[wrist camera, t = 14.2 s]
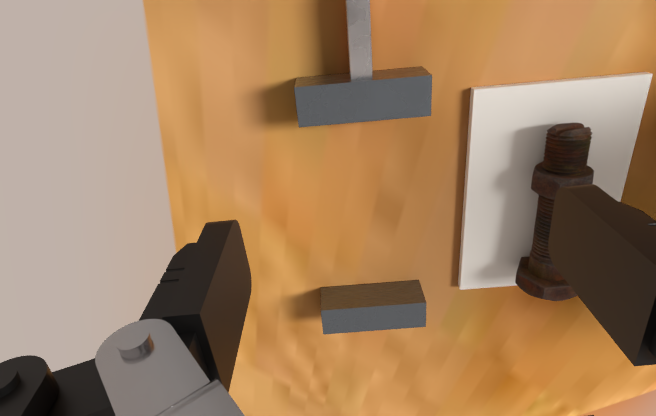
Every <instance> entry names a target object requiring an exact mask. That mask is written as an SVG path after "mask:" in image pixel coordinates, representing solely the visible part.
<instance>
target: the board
mask: <svg viewBox="0 0 656 416" xmlns="http://www.w3.org/2000/svg"><path fill="white" fill-rule="evenodd" d="M652 75H653V74H652V73H648V72H639V73H628V74H617V75H606V76H594V77H583V78H572V79H560V80H549V81H538V82H527V83H515V84H504V85H493V86H481V87H471V95H470V110H469V125H468V140H467V155H466V170H465V185H464V200H463V215H462V230H461V246H460V261H459V276H458V286H459V288H460V290H463V289H476V288H489V287H502V286H515V285H517V284H516V283H515V280H516V272H517V269H518V266H519V262H520V259H521V257H528V256H530V251H531V249H532V244H533V235H534V228H535V227H534V226H535V221H536V220H535V219H536V213H537V205H538V197H539V196H538V194H537V193H536V192H534V191H533V190H532V189H531V183H532V175H533V171H534V168H535V166H536V165H537V164H538V163H541V162H543V160H544V159H543V157H544V156H545V155H544V153H545V151H544V149H545V145H546V143H545V142H546V140H547V139H546V137H547V135H546V134H547V133H548V132H547V130H548V129H550V128H551V127H552V126H554V125H556V124H562V123H582V124H583V125H584V127H590V129H591V132H592V135H591V137H592V139H591V140H590V141H591V143H590V148H589V152H588V153H589V155H588V160H587V165H588V166H589V167H591V168H592V169H593V170H594V177H593V184H594V185H596V186H598V187H599V188H601V189H602V190H603V191H605V192H606V193H607V194H608V195H610V196H611V197H612V198H614V199H615V200H616V201H618V202H620V201H621V197H622V193H623V189H624V185H625V181H626V177H627V174H628V170H629V166H630V162H631V158H632V154H633V150H634V146H635V142H636V138H637V134H638V130H639V126H640V122H641V118H642V114H643V110H644V106H645V102H646V99H647V95H648V91H649V87H650V83H651V79H652Z"/></svg>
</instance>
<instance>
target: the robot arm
mask: <svg viewBox="0 0 656 416" xmlns="http://www.w3.org/2000/svg"><path fill="white" fill-rule="evenodd" d="M548 249H549V255H550V258H551V261H552V263H553V265H554V266H555V268H556V269H557V270H558V271H559V273H560V274H561V275H562V276H563V278H564V279H565V280H566V281H567V283H568V284H569V285H570V286H571V288H572V289H573V290H574V291H575V293H576V294H577V295H578V296H579V298H580V299H581V300H582V301H583V303H584V304H585V305H586V306H587V308H588V309H589V310H590V311H591V313H592V314H593V315H594V316H595V318H596V319H597V320H598V321H599V323H600V324H601V325H602V326H603V328H604V329H605V330H606V331H607V333H608V334H609V335H610V336H611V338H612V339H613V340H614V341H615V343H616V344H617V345H618V346H619V348H620V349H621V350H622V351H623V353H624V354H625V355H626V356H627V358H628V359H629V360H630V361H631V363H632V364H633V365H634V366H642V365H654V364H656V221H655V220H654V219H652V218H651V217H650V216H648V215H647V214H645V213H644V212H643V211H641V210H639V209H636V208H634V207H631V206H629V205H626V204H624V203H622V202H618V201H616V200H615V199H614V198H612V197H611V196H610V195H608V194H607V193H606V192H605V191H603V190H602V189H601V188H599V187H598V186H596V185H594V184H590V185H581V186H571V187H562V188H560V189H559V190H558V191H557V193H556V195H555V200H554V207H553V214H552V220H551V227H550V234H549V241H548ZM250 295H251V273H250V268H249V263H248V259H247V255H246V251H245V246H244V242H243V238H242V234H241V229H240V226H239V223H238V221H237V220H228V221H218V222H208V223H206V224H205V226H204V228H203V230H202V233H201V235H200V237H199V239H198V241H197V243H189V244H187V245H185V246H184V247H183V248H182V249H181V250H180V251H179V252H177V253H176V254H175V255H174V256H173V258H172V260H171V261H170V263H169V265H168V267H167V269H166V272H165V273H164V274H163V276H162V278H161V280H160V284H158V286H157V288H156V289H155V291H154V293H153V295H152V297H151V299H150V301H149V303H148V305H147V306H146V308H145V310H144V312H143V314H142V316H141V318H140V319H139V321H137V322H134V323H131V324H128V325H126V326H125V327H122V328H121V329H119V330H117V331H116V332H114V333H113V334H112V335H111V336H109V337H108V338H107V339H106V340H105V341H104V342H103V343H102V345H101V346H100V348H99V349H98V351H97V354H96V357H95V358H94V359H92V360H89V361H86V362H83V363H80V364H77V365H74V366H71V367H67V368H64V369H61V370H58V371H55V372H51V371H50V369H49V367H48V365H47V364H46V362H45V361H44V359H42V358H40V357H37V356H21V357H16V358H13V359H9V360H7V361H4V362H2V363H0V416H244V414H243V413H242V411H241V410H240V409H239V407H238V406H237V404H236V403H235V402H234V400H233V399H232V398H231V396H230V395H229V393H228V392H229V388H230V383H231V379H232V374H233V370H234V365H235V361H236V357H237V352H238V348H239V343H240V339H241V335H242V330H243V326H244V321H245V317H246V312H247V308H248V304H249V299H250ZM591 416H594V415H591Z"/></svg>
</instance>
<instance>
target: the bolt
mask: <svg viewBox="0 0 656 416" xmlns="http://www.w3.org/2000/svg"><path fill="white" fill-rule="evenodd" d="M547 132H548V133H547V134H546V135H547V137H546V139H547V140H546V142H545V143H546V145H545V149H544V151H545V153H544V155H545V156H544V157H543V159H544V160H543V162H541V163H538V164H537V165H536V166H535V168H534V171H533V175H532V183H531V189H532V190H533V191H534V192H536V193H537V194H538V196H539V197H538V205H537V213H536V219H535V220H536V221H535V226H534V227H535V228H534V235H533V244H532V249H531V251H530V256H528V257H521V259H520V262H519V266H518V269H517V272H516V280H515V283H516V284H517V285H518V286H519V287H520V288H521V289H522V290H523V291H524V292H526V293H528V294H529V295H531V296H534V297H537V298H541V299H546V300H552V301H562V300H566V299H570V298H573V297H575V296H577V294H576V293H575V291H574V290H573V289H572V288H571V286H570V285H569V284H568V283H567V281H566V280H565V279H564V278H563V276H562V275H561V274H560V273H559V271H558V270H557V269H556V268H555V266H554V265H553V263H552V261H551V258H550V255H549V249H548V241H549V234H550V227H551V220H552V214H553V207H554V200H555V195H556V193H557V191H558V190H559V189H560V188H562V187H571V186H581V185H590V184H593V177H594V170H593V169H592V168H591V167H589V166H588V165H587V160H588V155H589V153H588V152H589V148H590V143H591V141H590V140H591V139H592V137H591V135H592V132H591V129H590V127H584V125H583V124H582V123H562V124H556V125H554V126H552V127H551V128H550V129H548V130H547Z"/></svg>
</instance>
